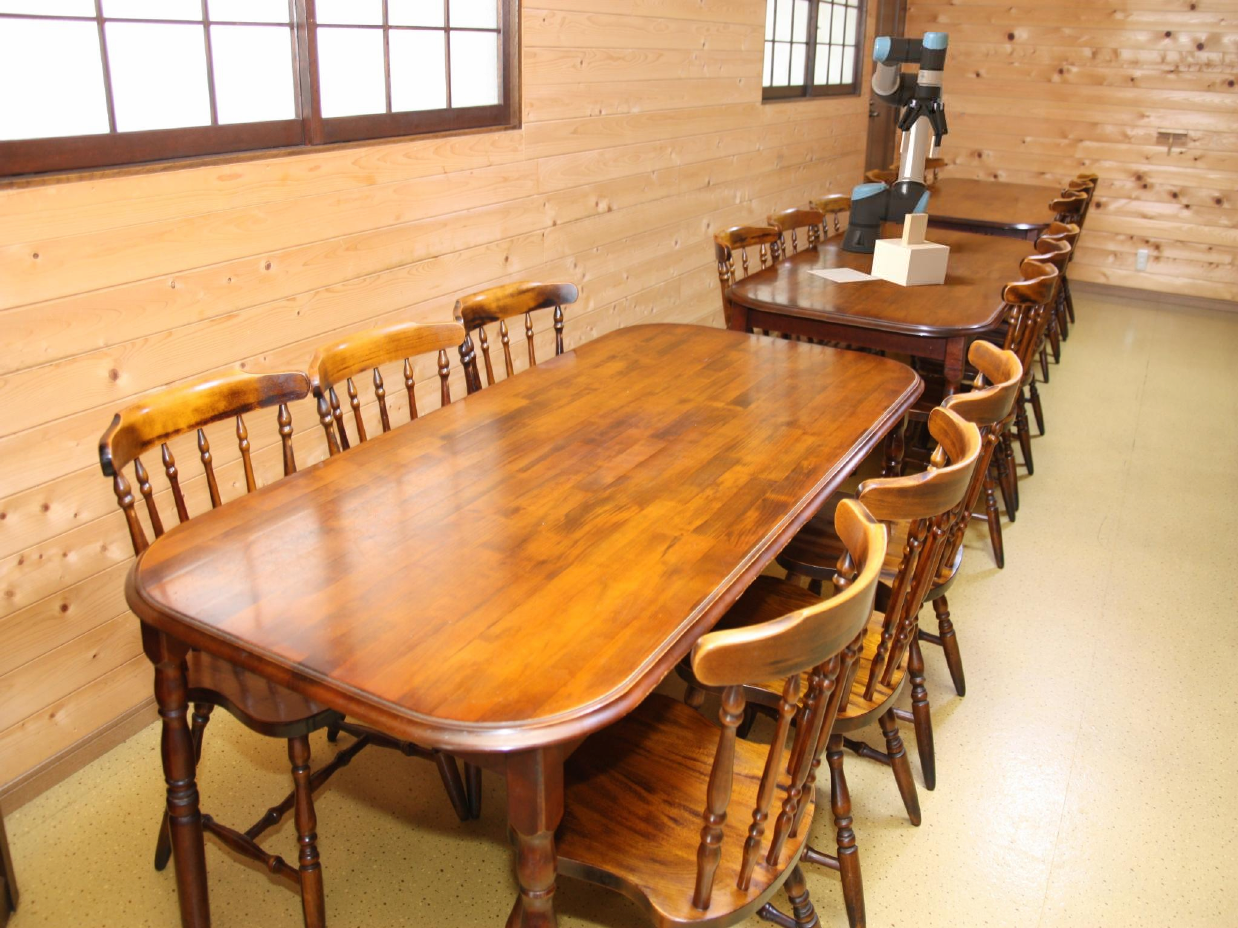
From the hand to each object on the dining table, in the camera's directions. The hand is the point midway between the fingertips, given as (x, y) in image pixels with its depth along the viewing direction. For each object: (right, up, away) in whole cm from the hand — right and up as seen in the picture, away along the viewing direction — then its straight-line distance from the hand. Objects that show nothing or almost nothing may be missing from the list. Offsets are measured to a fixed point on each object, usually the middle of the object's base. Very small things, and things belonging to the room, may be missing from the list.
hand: (918, 155), depth 333 cm
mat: (-25, -40, -3) cm, 47 cm away
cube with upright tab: (-5, -41, -4) cm, 42 cm away
